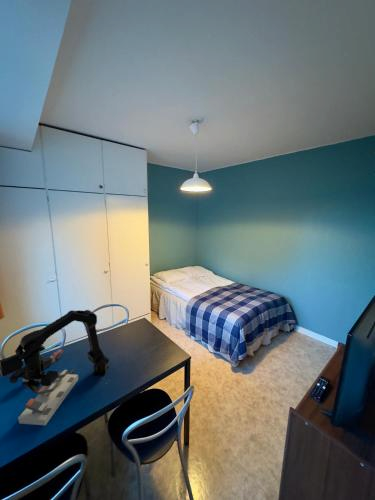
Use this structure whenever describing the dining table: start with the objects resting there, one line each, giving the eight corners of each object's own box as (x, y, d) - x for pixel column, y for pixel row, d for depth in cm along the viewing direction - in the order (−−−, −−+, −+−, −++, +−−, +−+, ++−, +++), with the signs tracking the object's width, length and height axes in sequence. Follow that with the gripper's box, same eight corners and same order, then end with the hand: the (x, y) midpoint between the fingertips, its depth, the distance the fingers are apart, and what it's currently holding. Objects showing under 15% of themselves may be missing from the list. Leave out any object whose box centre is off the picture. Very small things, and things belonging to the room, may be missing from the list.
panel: (84, 371, 115) (83, 366, 115) (45, 425, 86) (44, 419, 85) (64, 369, 116) (63, 364, 115) (19, 423, 87) (18, 417, 86)
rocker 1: (45, 409, 91) (47, 404, 90) (40, 416, 88) (42, 410, 87) (29, 403, 90) (30, 398, 90) (23, 409, 88) (25, 404, 87)
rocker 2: (58, 388, 98) (56, 383, 98) (54, 393, 95) (51, 388, 95) (45, 391, 99) (42, 386, 99) (40, 397, 96) (37, 392, 96)
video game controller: (49, 368, 118) (52, 360, 117) (43, 364, 119) (46, 356, 117) (62, 356, 128) (65, 349, 126) (56, 353, 128) (60, 345, 126)
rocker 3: (69, 374, 107) (67, 369, 106) (66, 378, 104) (63, 374, 103) (56, 377, 108) (54, 372, 107) (52, 382, 105) (50, 377, 104)
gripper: (65, 351, 94) (67, 379, 97) (28, 348, 95) (31, 376, 98) (47, 369, 83) (50, 400, 86) (5, 366, 85) (10, 396, 87)
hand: (36, 392), depth 90 cm, fingers closed
